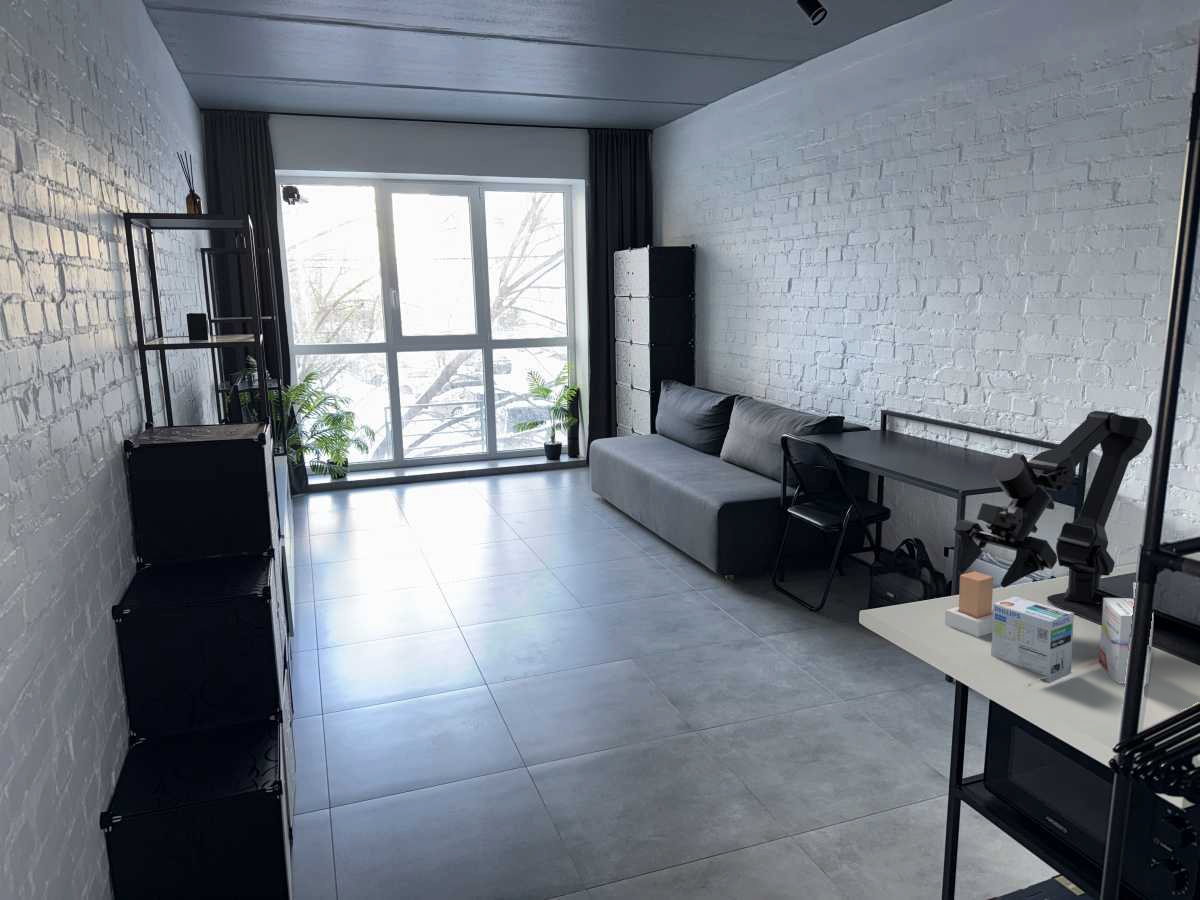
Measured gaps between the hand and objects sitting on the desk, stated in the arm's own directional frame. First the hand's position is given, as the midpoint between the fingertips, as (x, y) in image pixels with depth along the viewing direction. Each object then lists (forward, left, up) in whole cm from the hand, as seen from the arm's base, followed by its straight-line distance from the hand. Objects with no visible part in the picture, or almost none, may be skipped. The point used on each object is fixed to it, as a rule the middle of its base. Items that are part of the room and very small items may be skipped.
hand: (980, 579), depth 159 cm
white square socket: (+1, -1, -9) cm, 9 cm away
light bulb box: (+13, +10, -10) cm, 19 cm away
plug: (+1, -1, -9) cm, 9 cm away
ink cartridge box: (+8, +23, -10) cm, 27 cm away
